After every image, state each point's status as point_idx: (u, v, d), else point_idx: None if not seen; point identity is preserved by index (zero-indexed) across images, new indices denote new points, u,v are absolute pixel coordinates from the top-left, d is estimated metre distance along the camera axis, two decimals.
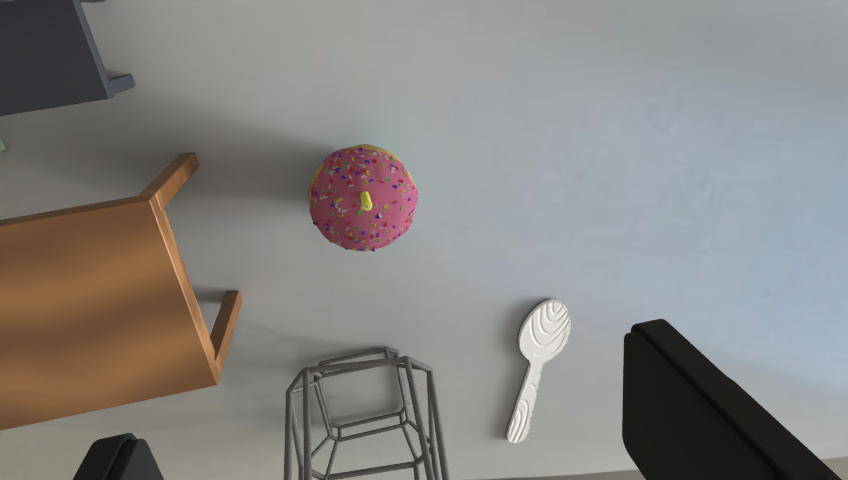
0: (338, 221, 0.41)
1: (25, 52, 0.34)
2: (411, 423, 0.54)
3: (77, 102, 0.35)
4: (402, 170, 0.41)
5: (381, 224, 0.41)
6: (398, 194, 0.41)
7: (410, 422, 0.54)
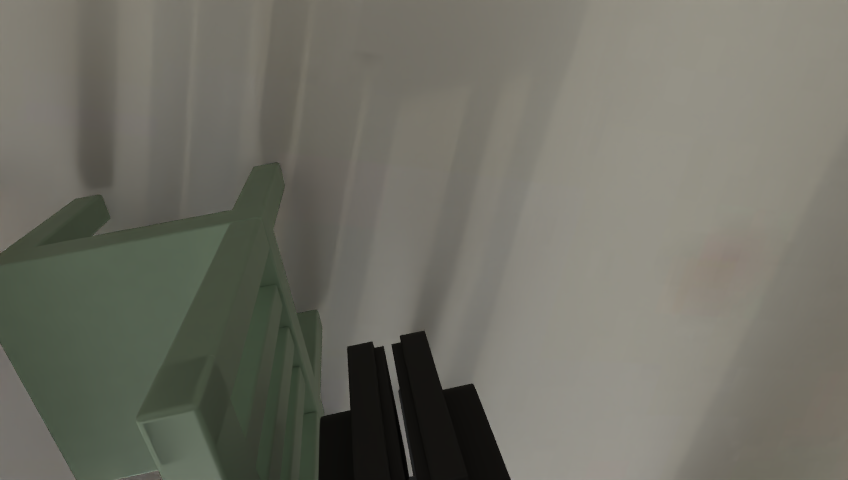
0: None
1: None
2: None
3: None
4: None
5: None
6: None
7: None
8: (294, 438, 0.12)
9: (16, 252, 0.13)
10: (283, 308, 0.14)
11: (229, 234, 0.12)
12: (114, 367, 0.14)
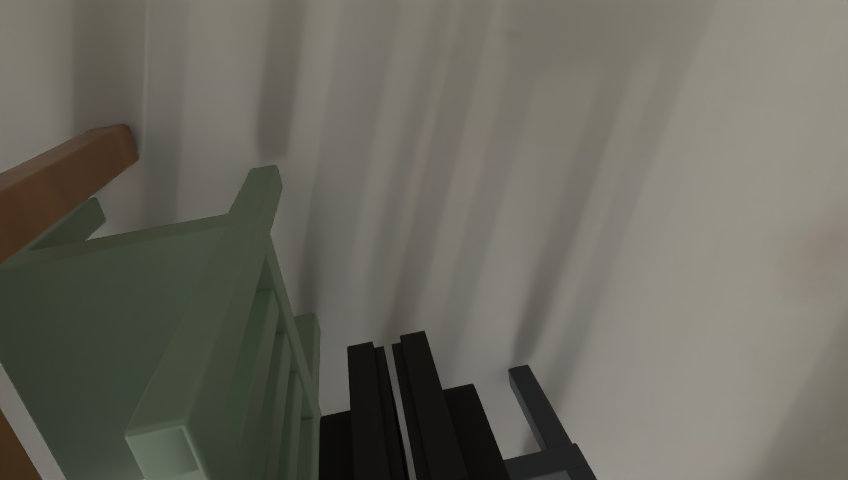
0: None
1: None
2: None
3: None
4: None
5: None
6: None
7: None
8: (290, 446, 0.12)
9: None
10: (280, 313, 0.14)
11: (225, 239, 0.12)
12: (109, 373, 0.14)
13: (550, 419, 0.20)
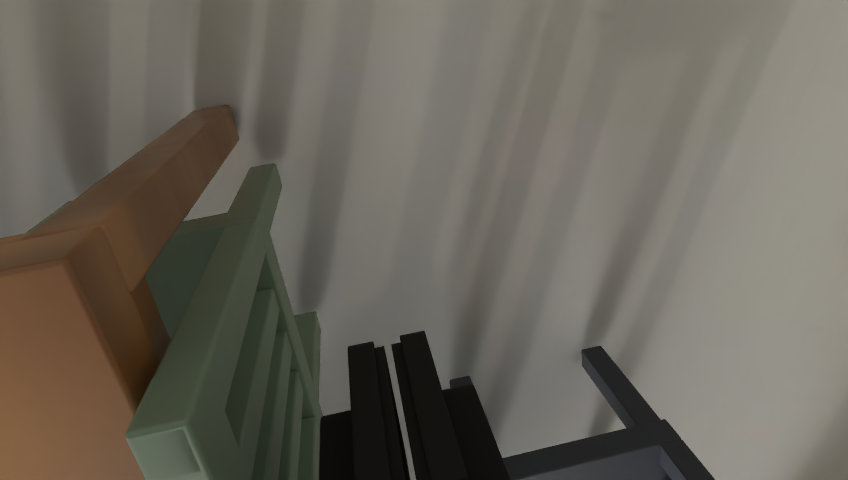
0: None
1: None
2: None
3: None
4: None
5: None
6: None
7: None
8: (292, 445, 0.12)
9: None
10: (280, 312, 0.14)
11: (225, 238, 0.12)
12: None
13: (634, 397, 0.20)
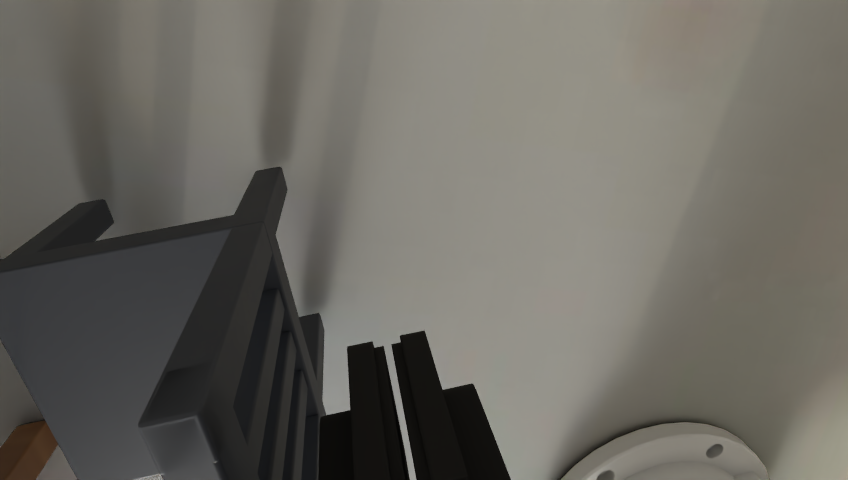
0: None
1: (160, 358, 0.14)
2: None
3: (57, 438, 0.15)
4: None
5: None
6: None
7: None
8: None
9: None
10: None
11: None
12: None
13: (260, 197, 0.15)
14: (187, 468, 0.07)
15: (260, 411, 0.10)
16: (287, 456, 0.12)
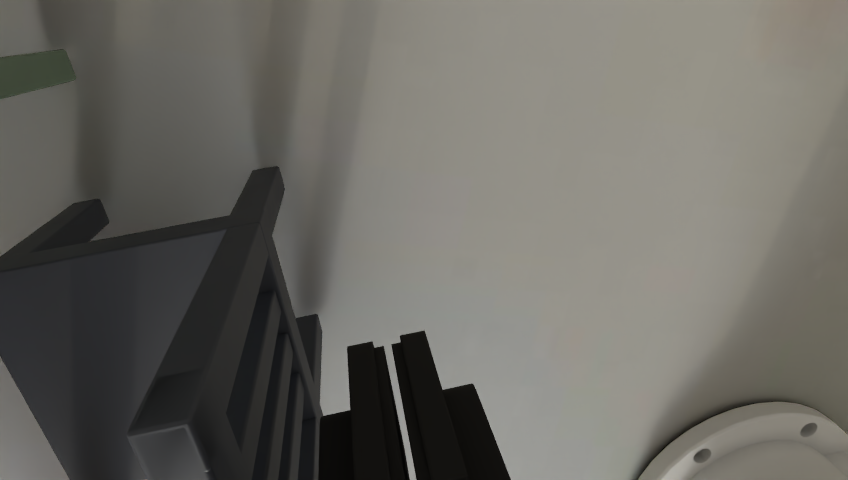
0: None
1: (155, 360, 0.14)
2: None
3: (51, 441, 0.15)
4: None
5: None
6: None
7: None
8: None
9: None
10: None
11: None
12: None
13: (256, 197, 0.15)
14: (178, 478, 0.07)
15: (255, 416, 0.10)
16: (283, 461, 0.12)
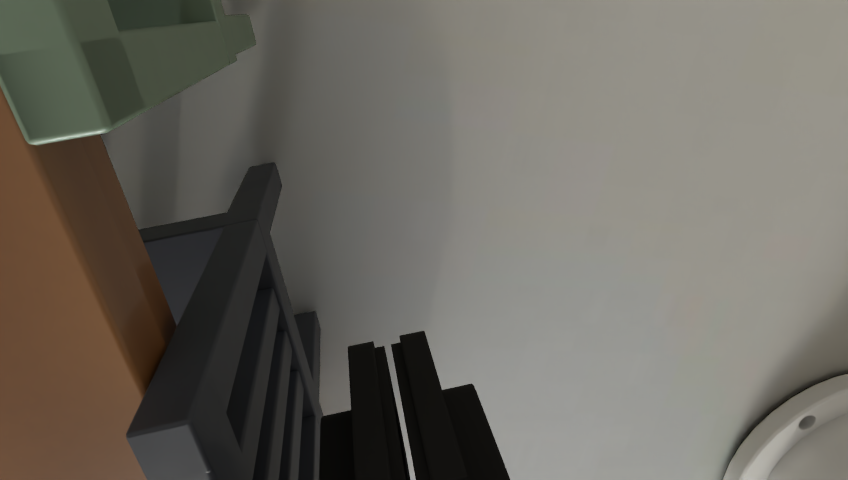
0: None
1: None
2: None
3: None
4: None
5: None
6: None
7: None
8: None
9: None
10: None
11: None
12: None
13: (253, 194, 0.15)
14: (178, 479, 0.07)
15: (255, 415, 0.10)
16: (283, 459, 0.12)
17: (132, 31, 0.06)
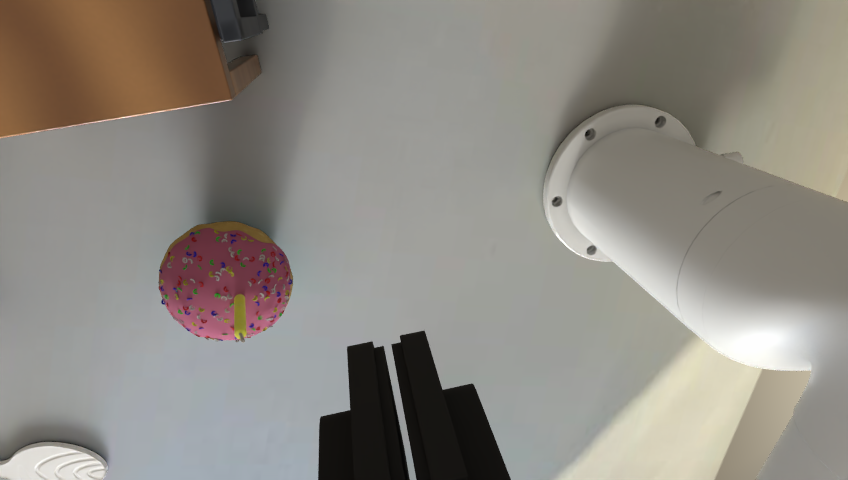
0: (201, 269, 0.34)
1: None
2: None
3: None
4: (269, 325, 0.37)
5: (203, 316, 0.35)
6: None
7: None
8: None
9: None
10: None
11: None
12: None
13: None
14: None
15: None
16: None
17: None
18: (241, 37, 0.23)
